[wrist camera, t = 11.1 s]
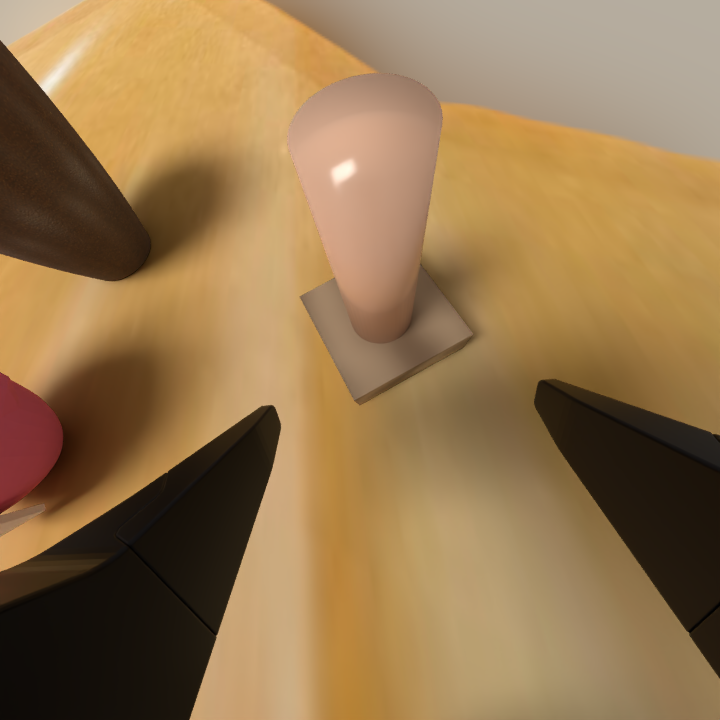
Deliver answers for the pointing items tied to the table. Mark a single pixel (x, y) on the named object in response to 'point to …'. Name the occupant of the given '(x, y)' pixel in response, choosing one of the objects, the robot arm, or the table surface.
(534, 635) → the table surface
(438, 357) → the base
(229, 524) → the robot arm
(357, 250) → the pillar
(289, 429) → the table surface
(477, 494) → the table surface
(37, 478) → the pink dragon fruit
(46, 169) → the plant pot
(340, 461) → the table surface
